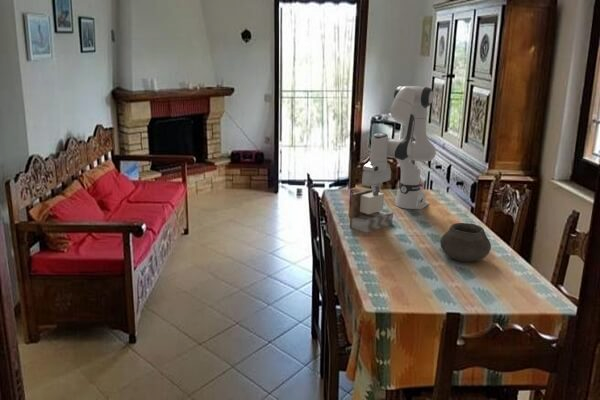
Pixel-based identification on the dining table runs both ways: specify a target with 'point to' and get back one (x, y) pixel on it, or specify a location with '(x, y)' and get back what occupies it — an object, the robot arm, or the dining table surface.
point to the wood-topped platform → (367, 215)
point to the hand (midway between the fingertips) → (375, 191)
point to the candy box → (352, 190)
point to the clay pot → (465, 242)
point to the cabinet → (372, 202)
